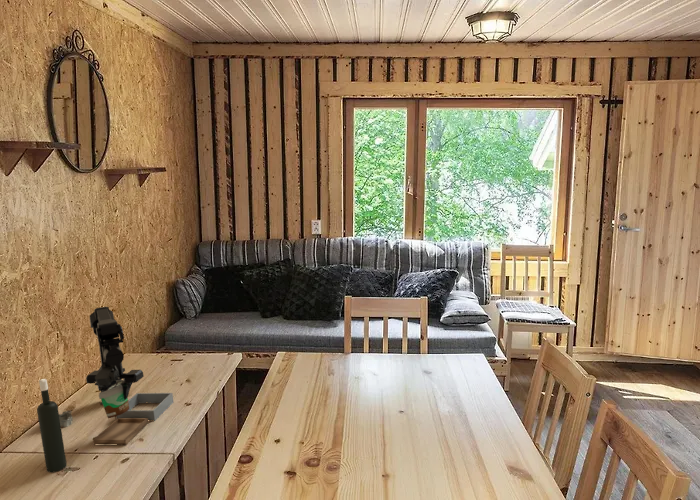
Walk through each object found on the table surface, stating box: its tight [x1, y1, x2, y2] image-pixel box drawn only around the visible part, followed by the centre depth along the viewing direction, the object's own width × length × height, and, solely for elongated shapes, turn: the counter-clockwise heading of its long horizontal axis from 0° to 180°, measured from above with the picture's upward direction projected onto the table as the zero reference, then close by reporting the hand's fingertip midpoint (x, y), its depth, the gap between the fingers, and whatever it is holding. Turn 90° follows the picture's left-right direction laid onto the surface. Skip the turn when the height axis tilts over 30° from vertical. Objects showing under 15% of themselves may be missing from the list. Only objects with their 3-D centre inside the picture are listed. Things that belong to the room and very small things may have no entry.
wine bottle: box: [36, 378, 67, 473], centre depth 178 cm, size 6×6×30 cm
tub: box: [115, 392, 174, 422], centre depth 218 cm, size 15×16×4 cm
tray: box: [92, 417, 150, 446], centre depth 201 cm, size 12×16×2 cm
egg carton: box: [59, 409, 73, 428], centre depth 211 cm, size 11×8×4 cm
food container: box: [98, 379, 129, 419], centre depth 199 cm, size 12×6×10 cm, turn 173°
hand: (118, 399), depth 199 cm, fingers closed on food container, 6 cm apart
